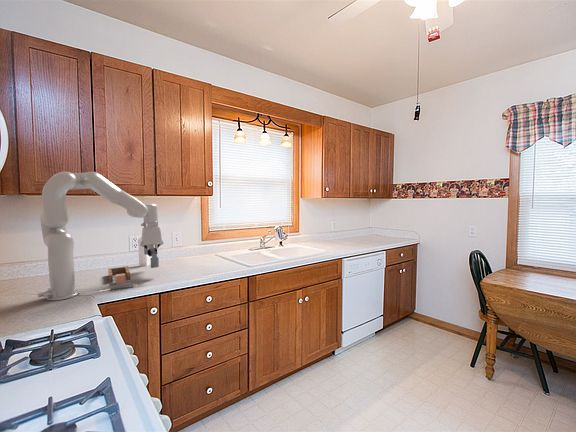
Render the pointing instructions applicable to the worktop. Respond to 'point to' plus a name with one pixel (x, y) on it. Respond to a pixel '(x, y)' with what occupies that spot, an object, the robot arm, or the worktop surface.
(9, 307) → the worktop surface
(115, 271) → the cubby
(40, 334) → the worktop surface
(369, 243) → the worktop surface
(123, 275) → the cube
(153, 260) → the grey long bar
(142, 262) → the milk
